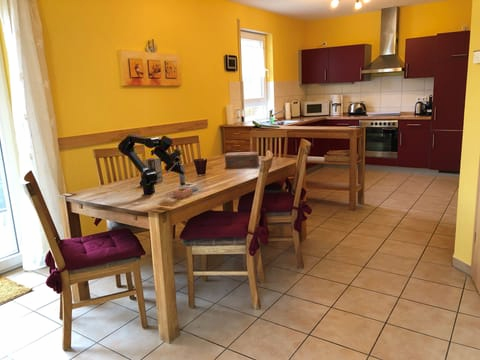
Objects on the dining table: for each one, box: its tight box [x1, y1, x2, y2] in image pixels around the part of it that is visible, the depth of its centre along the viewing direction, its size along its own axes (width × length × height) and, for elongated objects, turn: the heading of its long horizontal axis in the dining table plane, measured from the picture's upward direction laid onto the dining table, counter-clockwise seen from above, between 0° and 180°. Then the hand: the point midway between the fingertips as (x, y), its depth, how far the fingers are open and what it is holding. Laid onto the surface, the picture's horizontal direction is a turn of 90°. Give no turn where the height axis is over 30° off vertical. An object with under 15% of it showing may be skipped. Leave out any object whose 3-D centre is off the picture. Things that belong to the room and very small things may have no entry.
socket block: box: [178, 182, 199, 192], centre depth 234 cm, size 8×8×4 cm
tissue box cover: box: [224, 151, 260, 168], centre depth 313 cm, size 26×14×10 cm, turn 84°
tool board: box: [162, 188, 207, 200], centre depth 229 cm, size 22×16×1 cm
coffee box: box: [144, 157, 164, 184], centre depth 267 cm, size 9×6×16 cm
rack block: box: [172, 187, 193, 198], centre depth 223 cm, size 8×8×4 cm
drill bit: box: [178, 163, 186, 186], centre depth 222 cm, size 3×3×12 cm
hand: (184, 173), depth 222 cm, fingers closed on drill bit, 3 cm apart
